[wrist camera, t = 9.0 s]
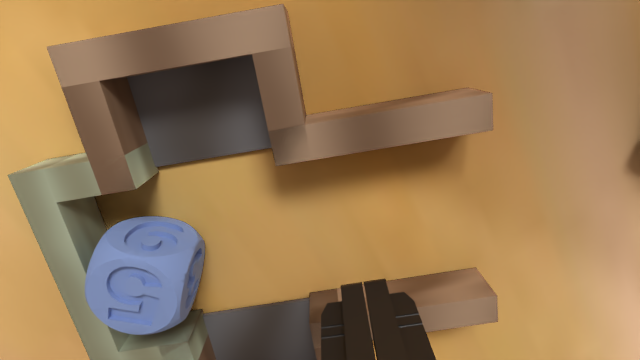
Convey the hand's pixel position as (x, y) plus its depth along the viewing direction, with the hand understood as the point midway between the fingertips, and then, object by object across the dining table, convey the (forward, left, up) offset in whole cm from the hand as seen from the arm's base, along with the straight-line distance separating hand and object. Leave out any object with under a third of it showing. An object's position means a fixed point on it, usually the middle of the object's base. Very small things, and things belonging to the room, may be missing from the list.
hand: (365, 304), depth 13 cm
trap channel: (+4, 0, -7) cm, 8 cm away
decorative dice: (+10, 0, -7) cm, 12 cm away
